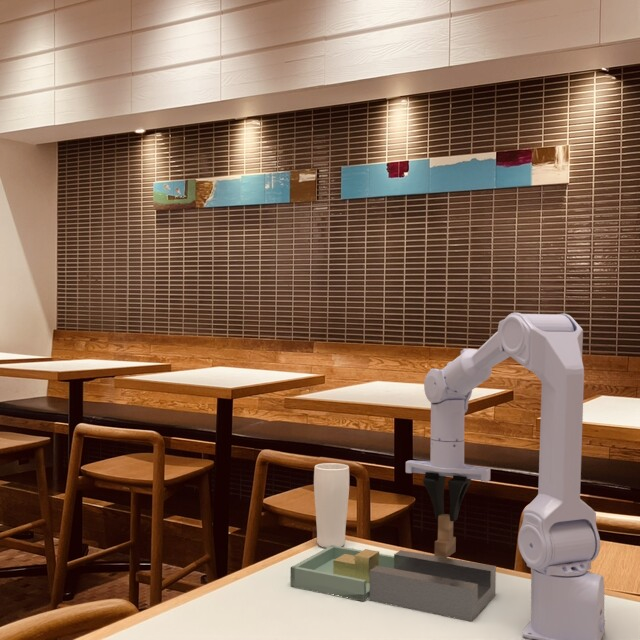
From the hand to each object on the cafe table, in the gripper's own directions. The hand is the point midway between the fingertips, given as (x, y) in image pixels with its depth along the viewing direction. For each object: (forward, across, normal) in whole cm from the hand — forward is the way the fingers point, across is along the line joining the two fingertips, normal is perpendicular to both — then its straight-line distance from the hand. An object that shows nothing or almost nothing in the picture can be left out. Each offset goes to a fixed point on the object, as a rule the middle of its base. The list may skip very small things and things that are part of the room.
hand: (446, 518), depth 127 cm
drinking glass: (+9, +24, -3) cm, 26 cm away
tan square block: (+6, +8, +13) cm, 16 cm away
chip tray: (+9, +12, +13) cm, 20 cm away
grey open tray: (+9, -2, +13) cm, 16 cm away
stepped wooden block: (+6, 0, +1) cm, 6 cm away
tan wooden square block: (+8, +12, +13) cm, 19 cm away
